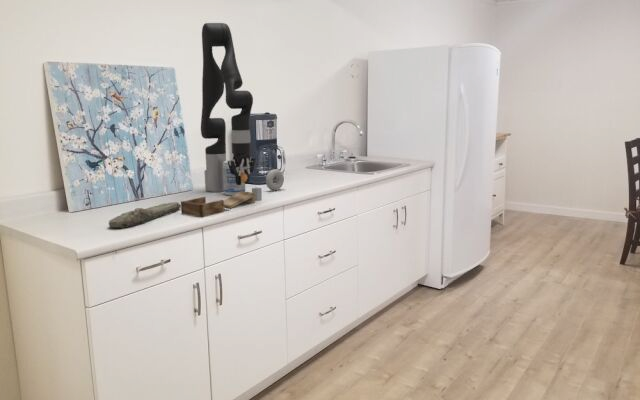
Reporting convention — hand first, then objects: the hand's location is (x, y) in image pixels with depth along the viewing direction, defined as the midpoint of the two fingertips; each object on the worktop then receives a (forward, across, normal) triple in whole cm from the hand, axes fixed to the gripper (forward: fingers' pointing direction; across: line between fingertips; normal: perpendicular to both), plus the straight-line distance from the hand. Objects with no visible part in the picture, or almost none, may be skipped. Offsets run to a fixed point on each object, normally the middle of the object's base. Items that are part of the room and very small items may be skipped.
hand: (242, 184), depth 207 cm
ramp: (+8, -4, 0) cm, 9 cm away
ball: (-1, 0, 0) cm, 1 cm away
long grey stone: (+9, -38, +10) cm, 41 cm away
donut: (+8, +29, +8) cm, 31 cm away
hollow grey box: (+8, +8, 0) cm, 11 cm away
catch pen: (+8, -21, 0) cm, 23 cm away
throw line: (+8, -14, 0) cm, 16 cm away
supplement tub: (+8, +12, +18) cm, 23 cm away
